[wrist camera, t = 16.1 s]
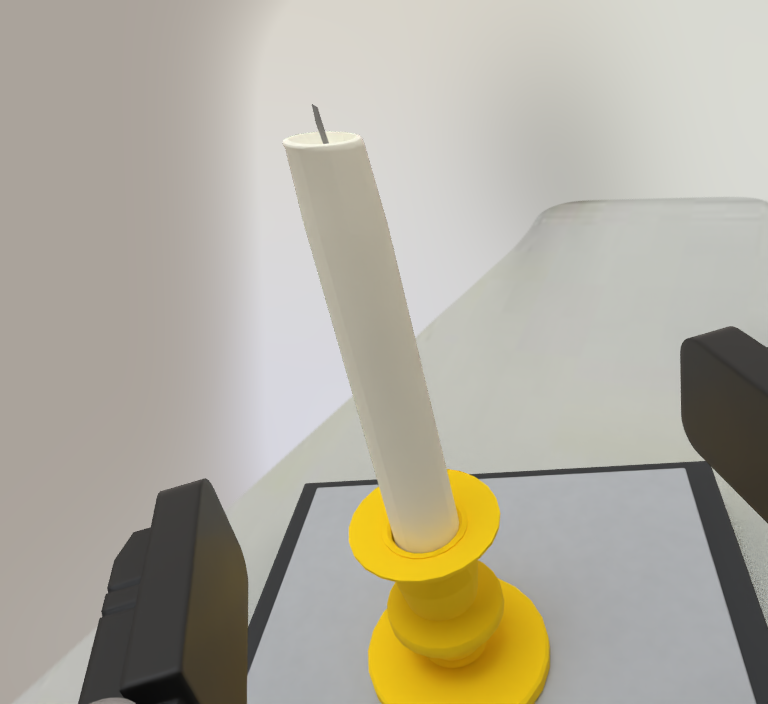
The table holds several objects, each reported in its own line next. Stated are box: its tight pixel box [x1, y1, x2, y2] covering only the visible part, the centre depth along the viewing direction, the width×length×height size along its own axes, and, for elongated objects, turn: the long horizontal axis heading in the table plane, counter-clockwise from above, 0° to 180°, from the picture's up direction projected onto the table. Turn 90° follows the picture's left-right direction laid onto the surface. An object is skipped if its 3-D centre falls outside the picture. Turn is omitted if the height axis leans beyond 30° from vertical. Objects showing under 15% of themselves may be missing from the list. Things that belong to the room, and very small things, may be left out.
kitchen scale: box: [247, 461, 768, 704], centre depth 21 cm, size 16×16×3 cm
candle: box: [283, 104, 550, 704], centre depth 16 cm, size 5×5×16 cm
